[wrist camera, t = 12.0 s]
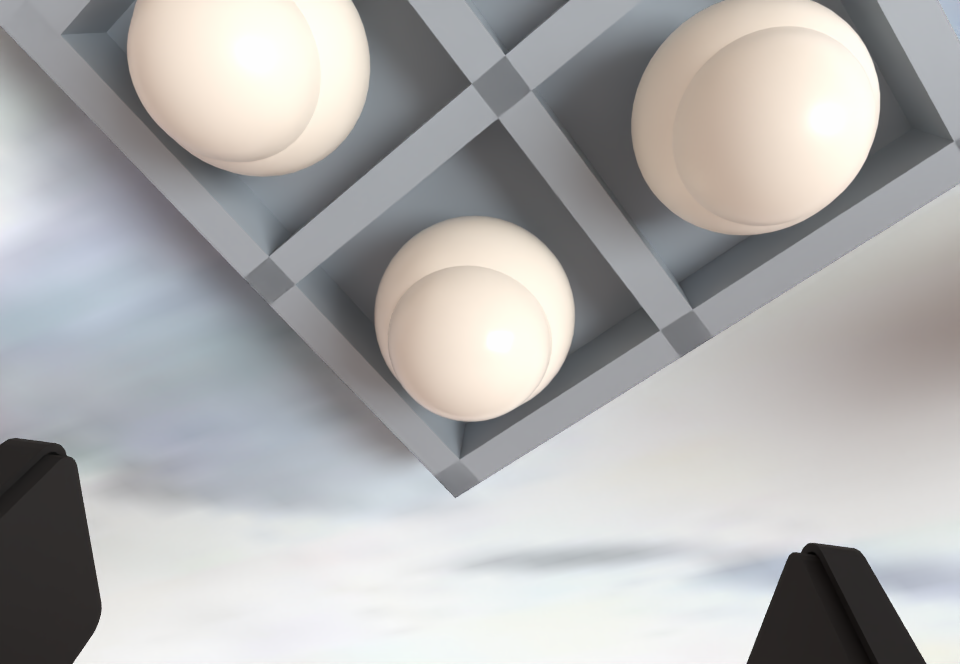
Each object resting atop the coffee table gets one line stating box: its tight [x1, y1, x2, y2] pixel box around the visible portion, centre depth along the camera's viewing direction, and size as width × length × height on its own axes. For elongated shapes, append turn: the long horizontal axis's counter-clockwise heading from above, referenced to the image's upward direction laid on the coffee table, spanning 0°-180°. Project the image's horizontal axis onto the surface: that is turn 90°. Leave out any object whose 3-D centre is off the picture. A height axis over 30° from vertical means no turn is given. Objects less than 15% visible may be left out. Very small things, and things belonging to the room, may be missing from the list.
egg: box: [374, 216, 575, 422], centre depth 18 cm, size 5×5×6 cm
